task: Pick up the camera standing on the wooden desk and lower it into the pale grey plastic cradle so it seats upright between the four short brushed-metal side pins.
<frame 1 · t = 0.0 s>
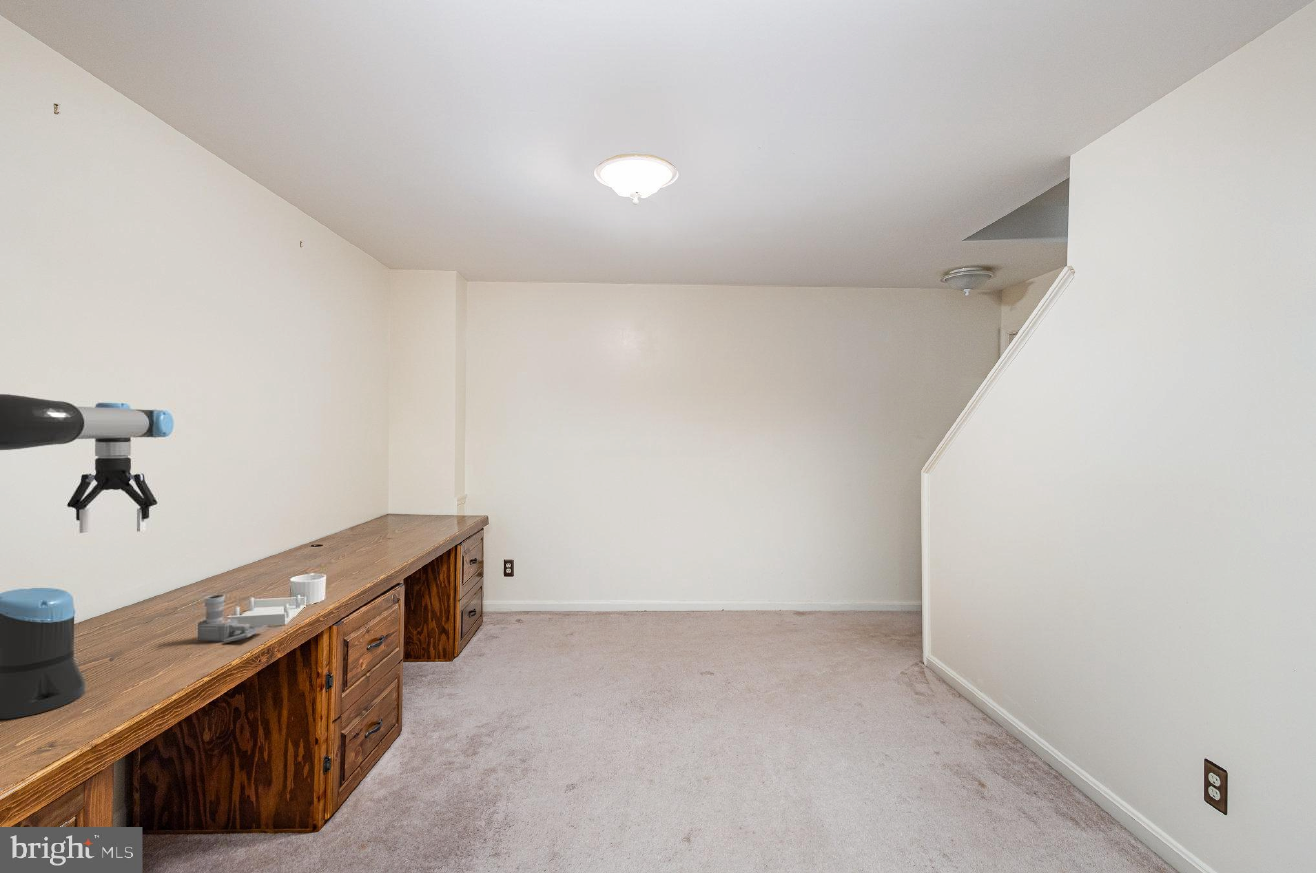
hand: (113, 531, 168), 28 cm above the table, fingers open, 13 cm apart
cradle: (268, 617, 180), on the table
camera: (229, 639, 162), on the table
mug: (308, 601, 198), on the table
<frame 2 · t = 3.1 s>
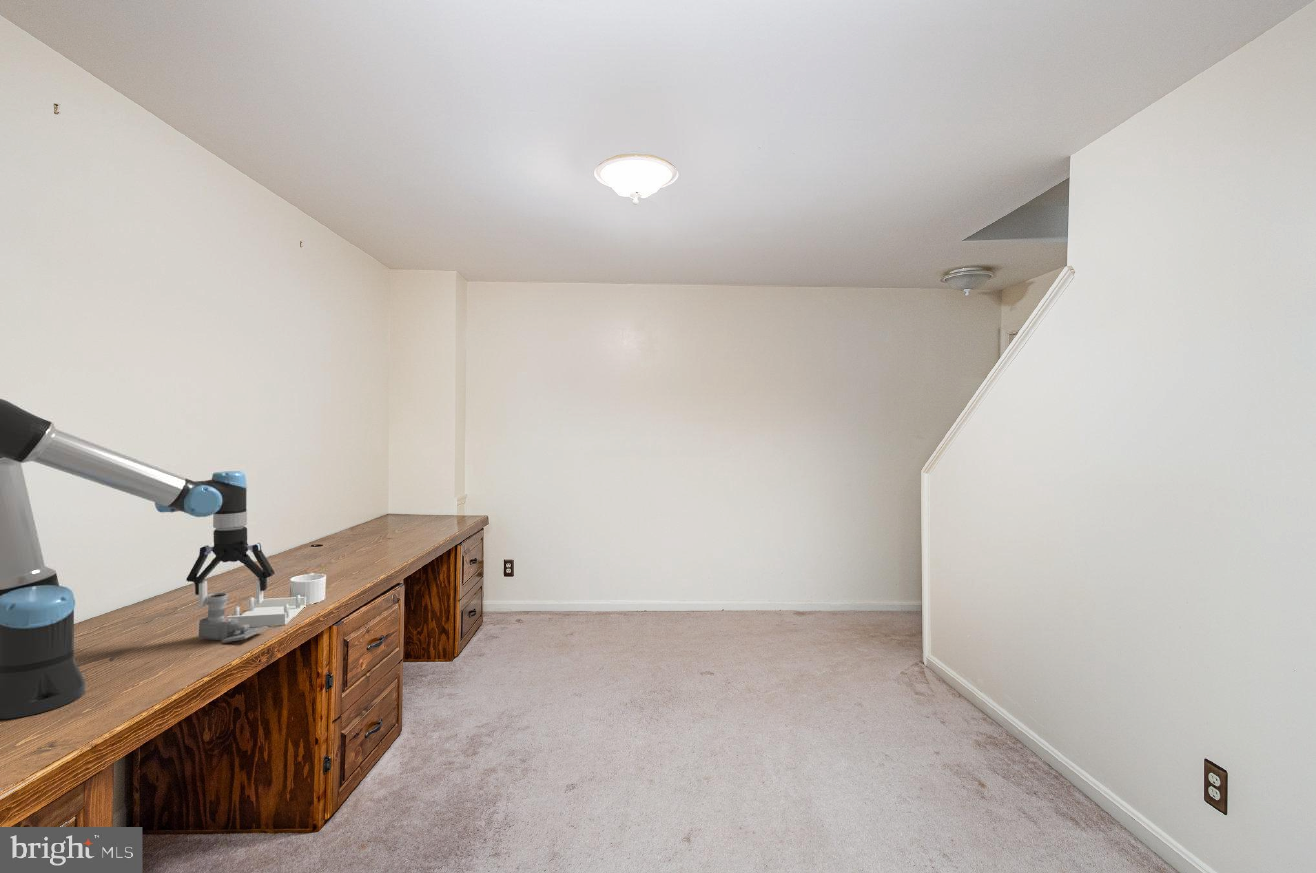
hand: (231, 604, 162), 9 cm above the table, fingers open, 13 cm apart
nothing on the table moved.
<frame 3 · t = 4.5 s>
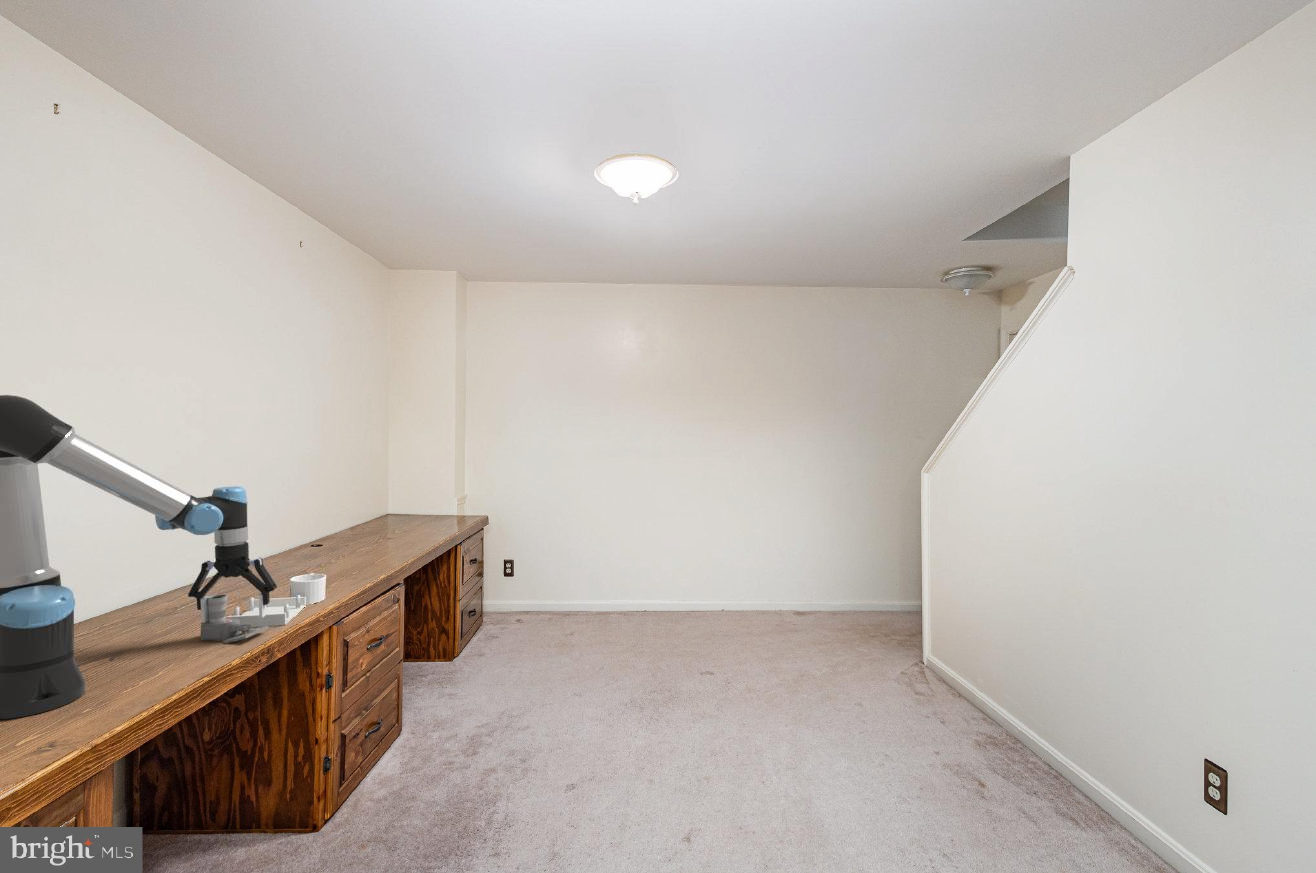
hand: (234, 619, 163), 5 cm above the table, fingers open, 13 cm apart
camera: (231, 639, 163), on the table, touching gripper
everything else where it was.
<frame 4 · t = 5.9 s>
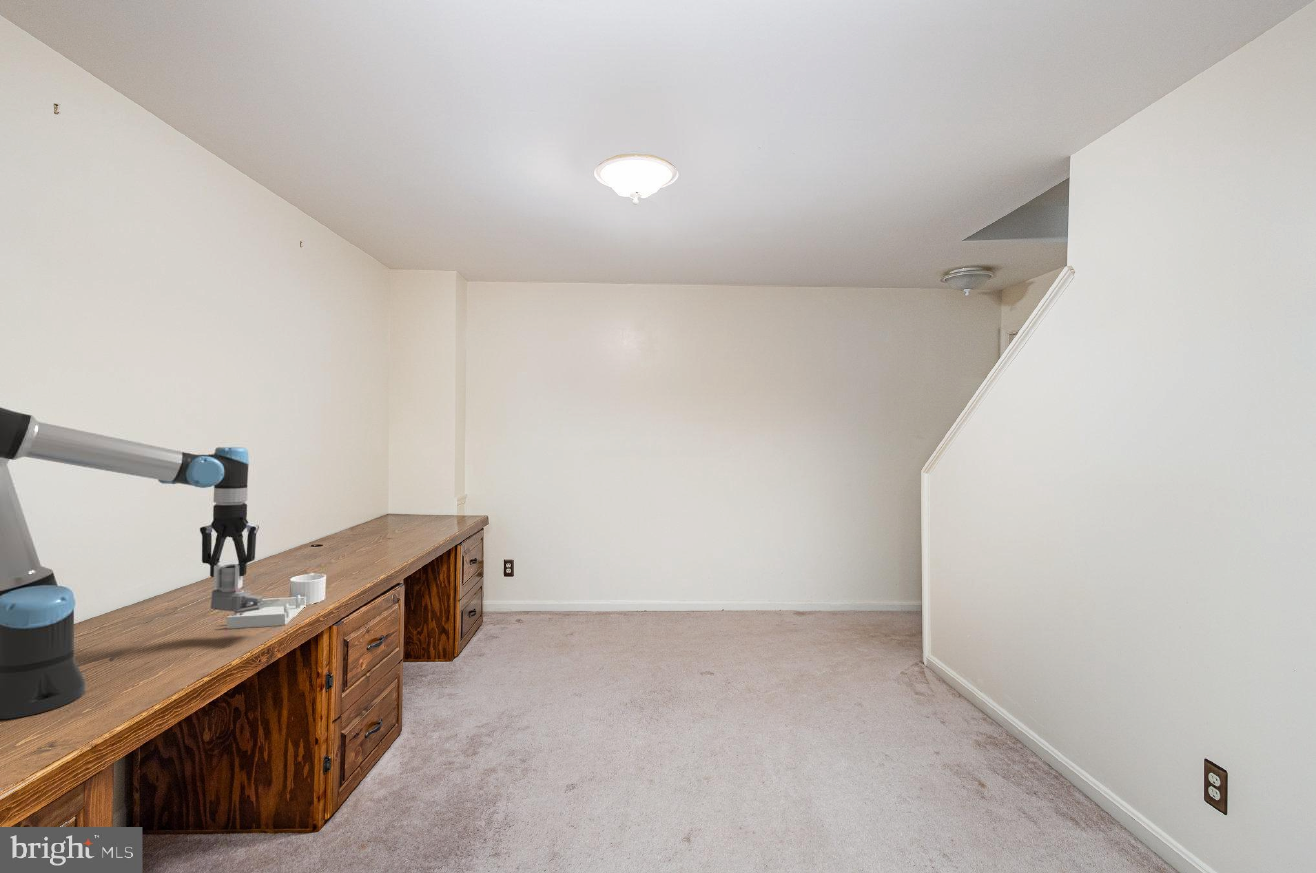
hand: (227, 588, 162), 14 cm above the table, fingers closed on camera, 4 cm apart
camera: (241, 610, 163), point 8 cm above the table, touching gripper
everything else where it was.
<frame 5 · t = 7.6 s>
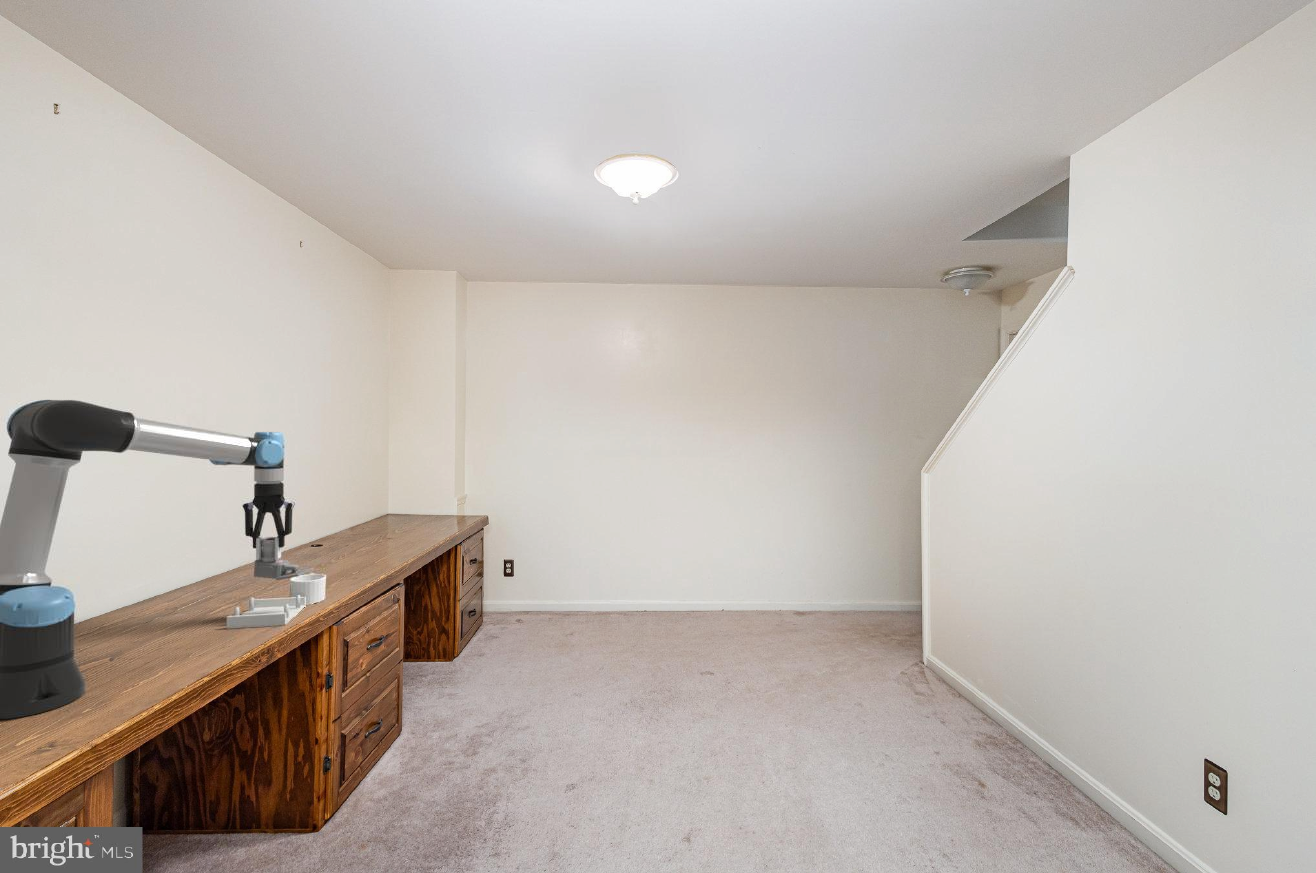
hand: (268, 558, 180), 18 cm above the table, fingers closed on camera, 4 cm apart
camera: (281, 577, 181), point 12 cm above the table, touching gripper
everything else where it was.
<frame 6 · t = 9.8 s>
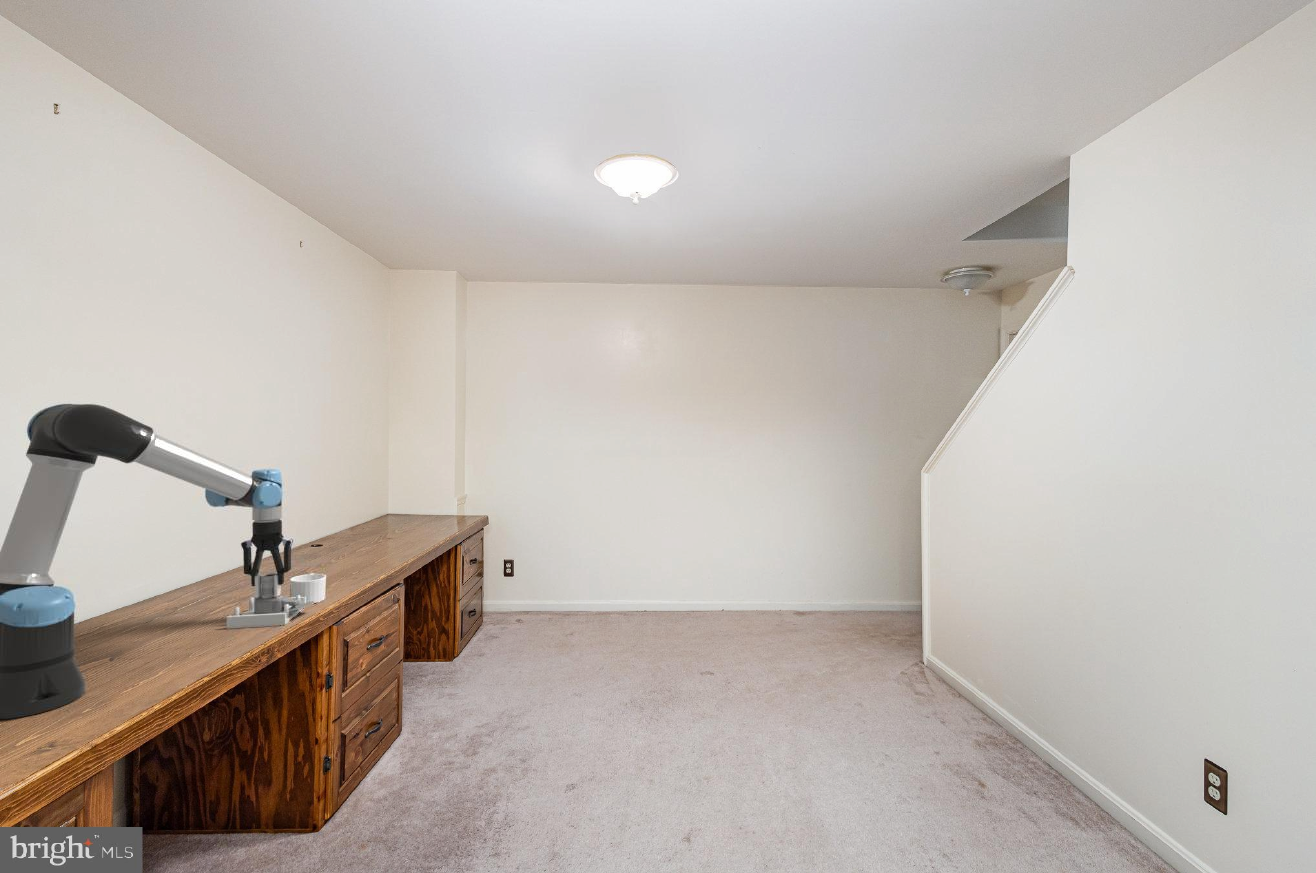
hand: (267, 595, 181), 7 cm above the table, fingers closed on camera, 4 cm apart
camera: (282, 613, 182), point 1 cm above the table, touching cradle, gripper
everything else where it was.
when the fingers open (7 cm above the table, at t = 10.7 s): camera stays where it is, resting on cradle.
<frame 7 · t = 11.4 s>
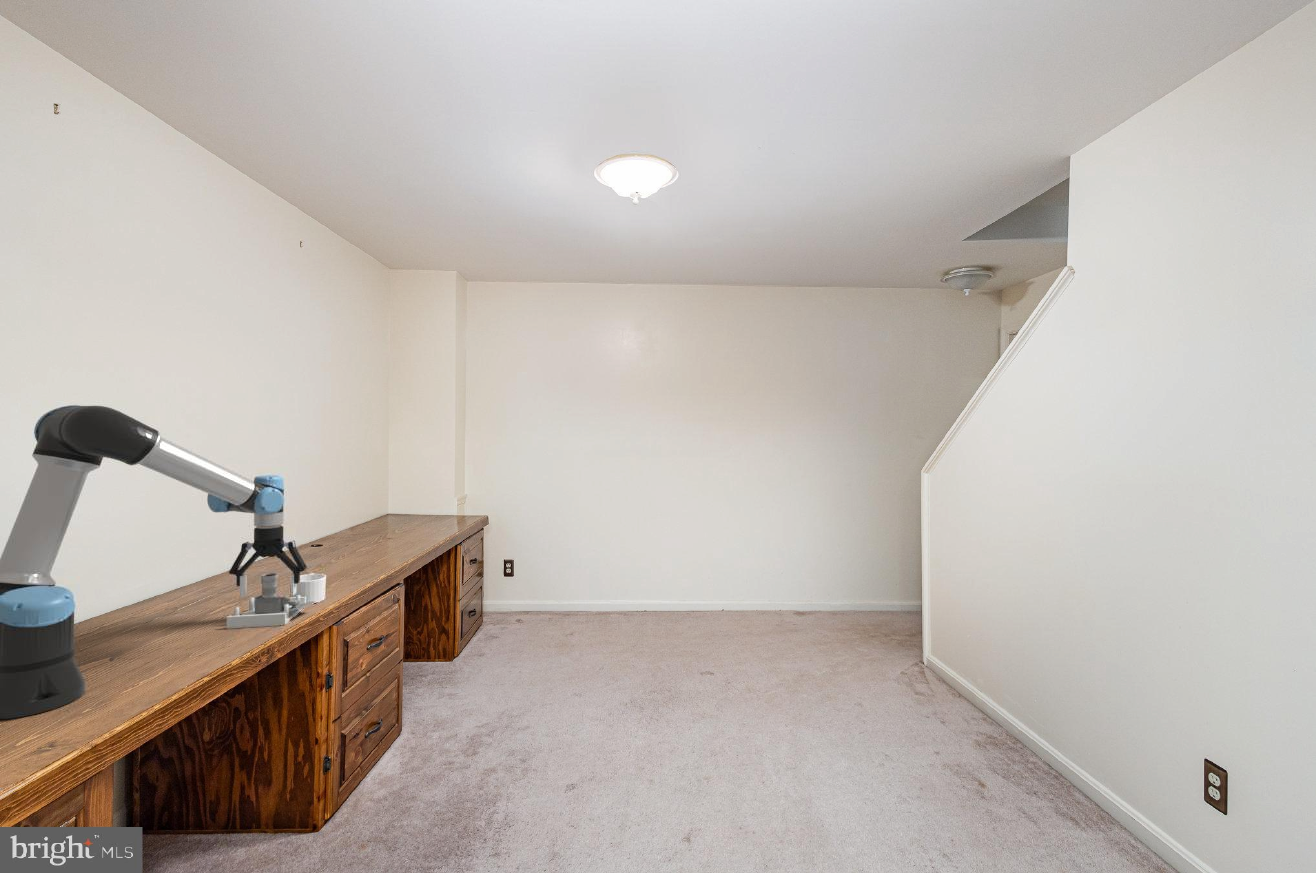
hand: (268, 595, 180), 7 cm above the table, fingers open, 13 cm apart
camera: (282, 613, 182), point 1 cm above the table, touching cradle
everything else where it was.
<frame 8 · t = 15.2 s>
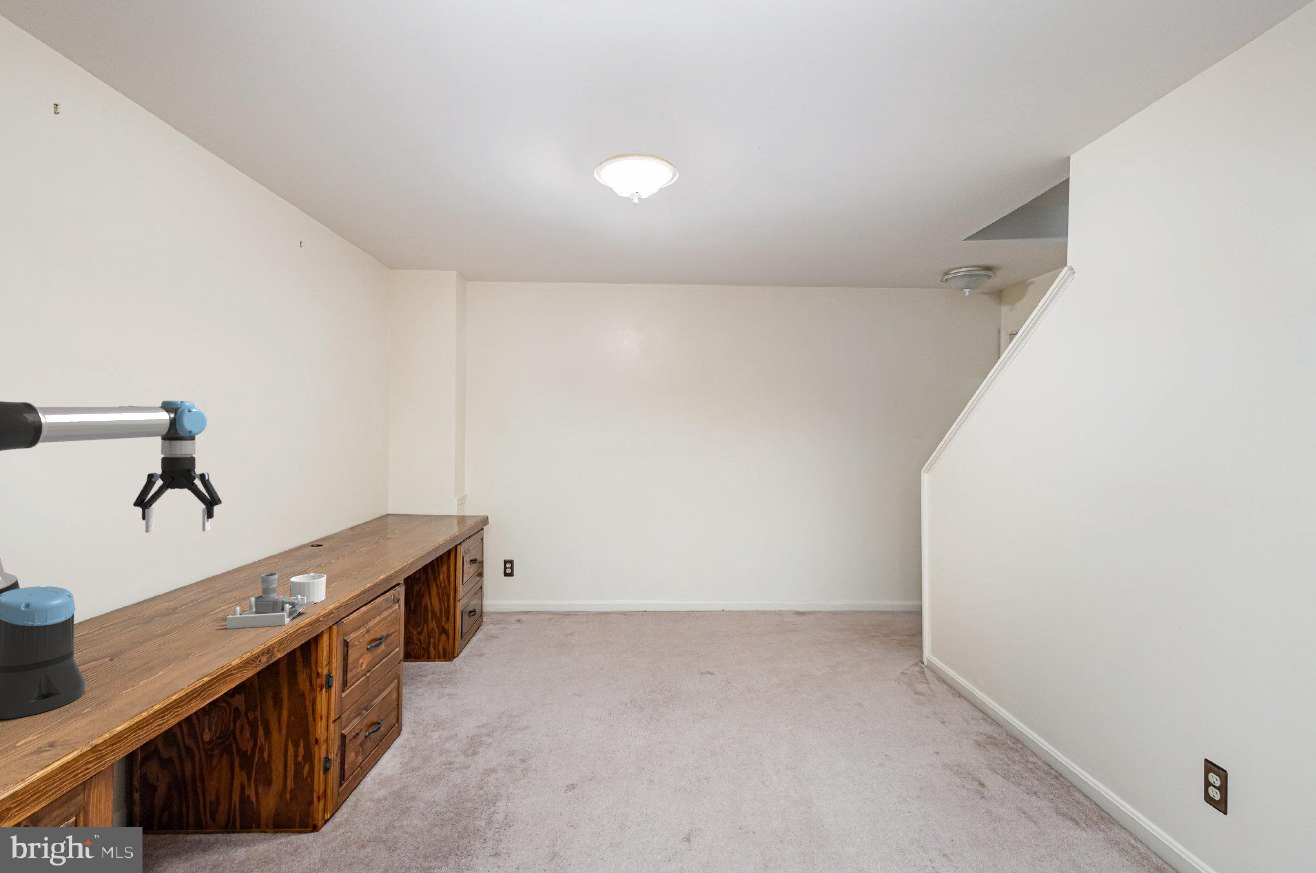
hand: (178, 531, 166), 29 cm above the table, fingers open, 13 cm apart
nothing on the table moved.
at the end: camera 3.6 cm from the cradle (horizontally); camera tilted 0°; the gripper is holding nothing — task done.
